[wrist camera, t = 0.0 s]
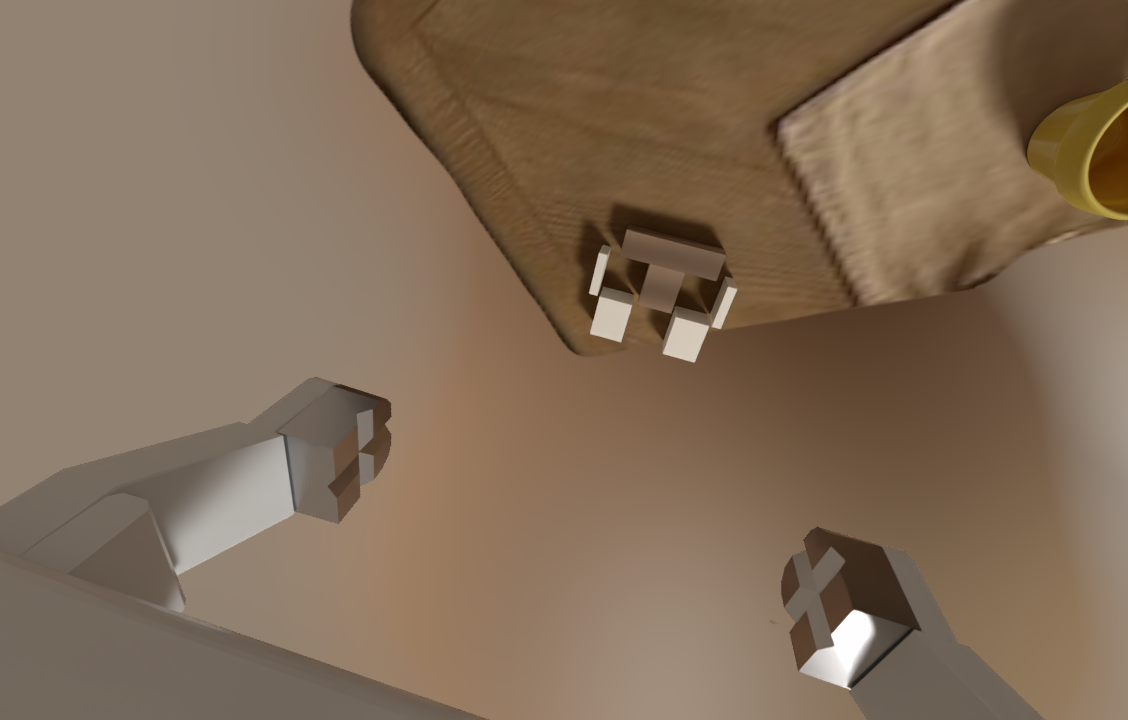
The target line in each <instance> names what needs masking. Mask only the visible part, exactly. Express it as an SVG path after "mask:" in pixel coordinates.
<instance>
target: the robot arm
mask: <svg viewBox="0 0 1128 720" xmlns="http://www.w3.org/2000/svg"><path fill="white" fill-rule="evenodd" d="M390 418H391V403H390V402H389V401H388V400H387V399H385V398H382V397H379V396H376V395H373V394H370V393H366V392H363V391H360V390H357V389H354V388H351V387H348V386H345V385H341V384H337V383H334V382H331V381H327V380H324V379H321V378H318V377H314V378H309V379H307V380H306V381H305V382H303V383H302V384H300V385H299V386H298V387H296V388H295V389H294V390H293V391H291V392H290V393H288V394H287V395H286V396H284V397H283V398H282V399H280V400H279V401H278V402H276V403H275V404H274V405H273V406H271V407H270V408H268V409H267V410H266V411H264V412H263V413H262V414H260V415H259V416H258V417H256V418H255V419H254V420H252V421H251V422H250V423H248V424H245V423H241V422H237V423H234V424H230V425H226V426H223V427H219V428H215V429H212V430H207V431H204V432H200V433H196V434H193V435H189V436H185V437H181V438H178V439H174V440H170V441H167V442H163V443H159V444H155V445H151V446H148V447H144V448H140V449H136V450H133V451H129V452H126V453H122V454H118V455H114V456H110V457H107V458H103V459H99V460H96V461H92V462H88V463H84V464H80V465H77V466H73V467H69V468H66V469H63V470H61V471H59V472H57V473H55V474H54V475H52V476H50V477H49V478H47V479H45V480H44V481H42V482H40V483H39V484H37V485H35V486H34V487H32V488H31V489H29V490H27V491H26V492H24V493H22V494H21V495H19V496H17V497H15V498H14V499H12V500H10V501H9V502H7V503H5V504H4V505H2V506H0V720H489V719H486V718H483V717H480V716H477V715H474V714H471V713H468V712H465V711H462V710H460V709H456V708H454V707H450V706H448V705H445V704H442V703H439V702H437V701H434V700H431V699H428V698H425V697H422V696H419V695H416V694H413V693H410V692H408V691H405V690H402V689H399V688H396V687H393V686H390V685H387V684H384V683H381V682H379V681H376V680H373V679H370V678H367V677H364V676H361V675H358V674H355V673H352V672H350V671H347V670H344V669H340V668H338V667H335V666H332V665H330V664H327V663H324V662H321V661H318V660H315V659H312V658H309V657H306V656H303V655H301V654H297V653H295V652H292V651H289V650H286V649H283V648H280V647H277V646H275V645H272V644H269V643H265V642H263V641H260V640H257V639H254V638H251V637H248V636H245V635H242V634H240V633H236V632H234V631H231V630H228V629H225V628H222V627H219V626H217V625H214V624H211V623H208V622H205V621H202V620H199V619H196V618H194V617H190V616H188V615H185V614H182V613H181V612H182V611H183V610H184V609H185V602H186V599H185V596H184V593H183V591H182V588H181V585H180V583H179V580H178V577H177V575H179V574H181V573H183V572H185V571H187V570H189V569H190V568H192V567H194V566H196V565H198V564H200V563H202V562H204V561H206V560H208V559H209V558H211V557H213V556H215V555H217V554H219V553H221V552H222V551H225V550H227V549H229V548H230V547H232V546H234V545H236V544H238V543H240V542H242V541H244V540H245V539H247V538H249V537H251V536H253V535H255V534H257V533H259V532H261V531H263V530H265V529H267V528H268V527H270V526H272V525H274V524H276V523H278V522H280V521H282V520H284V519H286V518H287V517H289V516H291V515H293V514H294V511H296V512H299V513H302V514H306V515H310V516H313V517H316V518H320V519H323V520H327V521H330V522H334V523H337V524H339V523H340V522H341V521H342V519H343V518H344V517H345V515H346V514H347V513H348V512H349V511H350V509H351V508H352V507H353V505H354V504H355V503H356V502H357V501H358V499H359V498H360V486H361V485H363V484H366V483H368V482H370V481H373V480H374V479H375V478H376V477H377V475H378V474H379V472H380V471H381V470H382V468H383V466H384V464H385V462H386V460H387V458H388V455H389V451H390V447H391V433H390V432H389V430H388V429H387V427H386V425H385V423H386V422H387V421H388V420H389V419H390ZM803 541H804V544H805V548H806V550H805V551H803V552H800V553H798V554H795V555H792V557H791V558H790V560H789V561H788V563H787V564H786V566H785V568H784V572H783V576H782V581H781V595H782V600H783V605H784V608H785V610H786V611H787V612H788V613H789V615H790V616H791V617H792V619H793V620H794V621H795V624H794V626H793V627H792V629H791V630H790V632H789V633H790V637H791V641H792V645H793V650H794V655H795V659H796V663H797V668H798V671H799V672H802V673H804V674H808V675H810V676H813V677H816V678H819V679H821V680H824V681H827V682H830V683H833V684H836V685H839V686H841V687H845V688H848V689H850V691H849V693H850V694H851V696H852V697H853V699H854V700H855V702H856V704H857V705H858V707H859V708H860V710H861V711H862V713H863V714H864V716H865V717H866V719H867V720H1045V719H1044V718H1043V717H1042V716H1041V715H1040V714H1039V713H1038V712H1037V711H1036V710H1035V709H1034V708H1032V706H1030V705H1029V704H1028V703H1027V702H1026V701H1025V700H1024V699H1023V698H1022V697H1021V696H1020V695H1019V694H1018V693H1017V692H1016V691H1015V690H1014V689H1013V688H1012V687H1010V686H1009V685H1008V684H1007V683H1006V682H1005V681H1004V680H1003V679H1002V678H1001V677H1000V676H999V675H998V674H997V673H996V672H995V671H994V670H993V669H992V668H991V667H990V666H988V664H987V663H985V662H984V661H983V660H982V659H981V658H980V657H979V656H978V655H977V654H976V653H975V652H974V651H973V650H972V649H971V648H970V647H968V646H964V645H962V644H959V643H958V641H957V639H956V637H955V635H954V633H953V631H952V630H951V628H950V626H949V624H948V622H947V620H946V618H945V616H944V615H943V613H942V611H941V609H940V607H939V605H938V603H937V601H936V600H935V598H934V596H933V594H932V592H931V590H930V588H929V586H928V585H927V583H926V581H925V579H924V577H923V575H922V573H921V572H920V569H919V568H918V566H917V564H916V562H915V560H914V559H913V558H912V557H911V556H910V555H909V554H908V553H907V552H906V551H902V550H899V549H896V548H892V547H888V546H884V545H881V544H877V543H872V542H869V541H865V540H862V539H858V538H855V537H851V536H848V535H845V534H841V533H838V532H834V531H831V530H827V529H824V528H820V527H816V528H814V529H812V530H810V532H809V533H808V534H807V535H806V537H805V538H804V540H803Z"/></svg>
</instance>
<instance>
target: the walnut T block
mask: <svg viewBox="0 0 1128 720" xmlns="http://www.w3.org/2000/svg"><path fill="white" fill-rule="evenodd" d="M620 256H621V257H625V258H629V259H633V260H636V261H640V262H644V263H648V264H649V265H648V268H647V272H646V275H645V278H644V281H643V285H642V288H641V291H640V294H639V299H638V305H640V306H644V307H648V308H652V309H655V310H659V311H663V312H666V313H670V314H671V312H672V310H673V307H674V304H675V301H676V298H677V295H678V292H679V290H680V287H681V284H682V281H683V278H684V275H685V273H686V274H690V275H694V276H698V277H701V278H705V279H709V280H713V281H717V278H718V276H719V273H720V270H721V268H722V265H723V263H724V260H725V258H726V253H725V251H724V248H720V247H716V246H712V245H708V244H704V243H700V242H696V241H692V240H688V239H684V238H681V237H677V236H673V235H669V234H665V233H661V232H657V231H653V230H649V229H645V228H641V227H638V226H634V225H630V224H629V225H628V228H627V231H626V234H625V238H624V242H623V245H622V249H621V253H620Z"/></svg>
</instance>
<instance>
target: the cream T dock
mask: <svg viewBox="0 0 1128 720" xmlns="http://www.w3.org/2000/svg"><path fill="white" fill-rule="evenodd" d="M610 249H611V247H610V246H606V245H603V246H602V248H601V250H600V252H599V255H598V259H597V263H596V267H595V271H594V275H593V279H592V283H591V287H590V291H589V294H592V295H596V296H597V295H598V293H599V290H600V287H601V284H602V281H603V277H604V273H605V269H606V265H607V261H608V257H609V253H610ZM736 291H737V287H736V284H735V281H734V279H733V278H729V277H726V276H725V278H724V280H723V283H722V285H721V288H720V290H719V293H718V295H717V298H716V300H715V303H714V305H713V308H712V310H711V313H710V319H711V325H712V327H715V328H718V329H721V327H722V324H723V322H724V319H725V317H726V315H727V312H728V310H729V307H730V305H731V303H732V300H733V298H734V296H735V293H736ZM633 299H634V294H630V293H626V292H623V291H619V290H615V289H611V288H608V287H604V286H603V289H602V292H601V294H600V297H599V301H598V305H597V309H596V313H595V317H594V320H593V324H592V328H591V332H590V334H593V335H597V336H600V337H604V338H607V339H611V340H615V341H618V342H621V341H622V337H623V334H624V331H625V327H626V324H627V321H628V317H629V314H630V311H631V307H632V303H633ZM708 328H709V321H708V315H707V314H705V313H701V312H697V311H694V310H690V309H686V308H682V307H679V306H676V307H675V309H674V312H673V315H672V318H671V321H670V324H669V326H668V329H667V332H666V335H665V338H664V340H663V354H666V355H669V356H673V357H676V358H680V359H684V360H688V361H691V362H695V360H696V357H697V355H698V352H699V350H700V348H701V345H702V342H703V340H704V338H705V335H706V333H707V330H708Z"/></svg>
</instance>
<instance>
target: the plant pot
mask: <svg viewBox="0 0 1128 720" xmlns="http://www.w3.org/2000/svg"><path fill="white" fill-rule="evenodd" d="M1027 159H1028V162H1029V164H1030V166H1031V168H1032V169H1033V170H1034V171H1035V172H1036V173H1037V174H1039V175H1040V176H1042V177H1044V178H1045V179H1047V180H1048V181H1050V182H1052V183H1053V184H1055V185H1056V187H1057V189H1058V191H1059V193H1060V194H1061V196H1062V197H1063V198H1064V199H1065V200H1066V201H1067V202H1068V203H1070V204H1071V205H1073V206H1075V207H1077V208H1079V209H1082V210H1084V211H1087V212H1090V213H1093V214H1097V215H1101V216H1104V217H1109V218H1113V219H1119V220H1128V79H1127V80H1125V81H1123V82H1121V83H1119V84H1117V85H1116V86H1114V87H1112V88H1111V89H1109V90H1106V91H1103V92H1099V93H1096V94H1092V95H1089V96H1085V97H1082V98H1079V99H1076V100H1073V101H1070V102H1068V103H1066V104H1064V105H1062V106H1061V107H1059V108H1057V109H1056V110H1054V111H1053V112H1052V113H1051V114H1049V115H1048V116H1047V117H1046V118H1045V119H1044V120H1043V121H1042V122H1041V123H1040V124H1039V126H1038V127H1037V128H1036V130H1035V131H1034V133H1033V134H1032V137H1031V139H1030V141H1029V144H1028V149H1027Z"/></svg>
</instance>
